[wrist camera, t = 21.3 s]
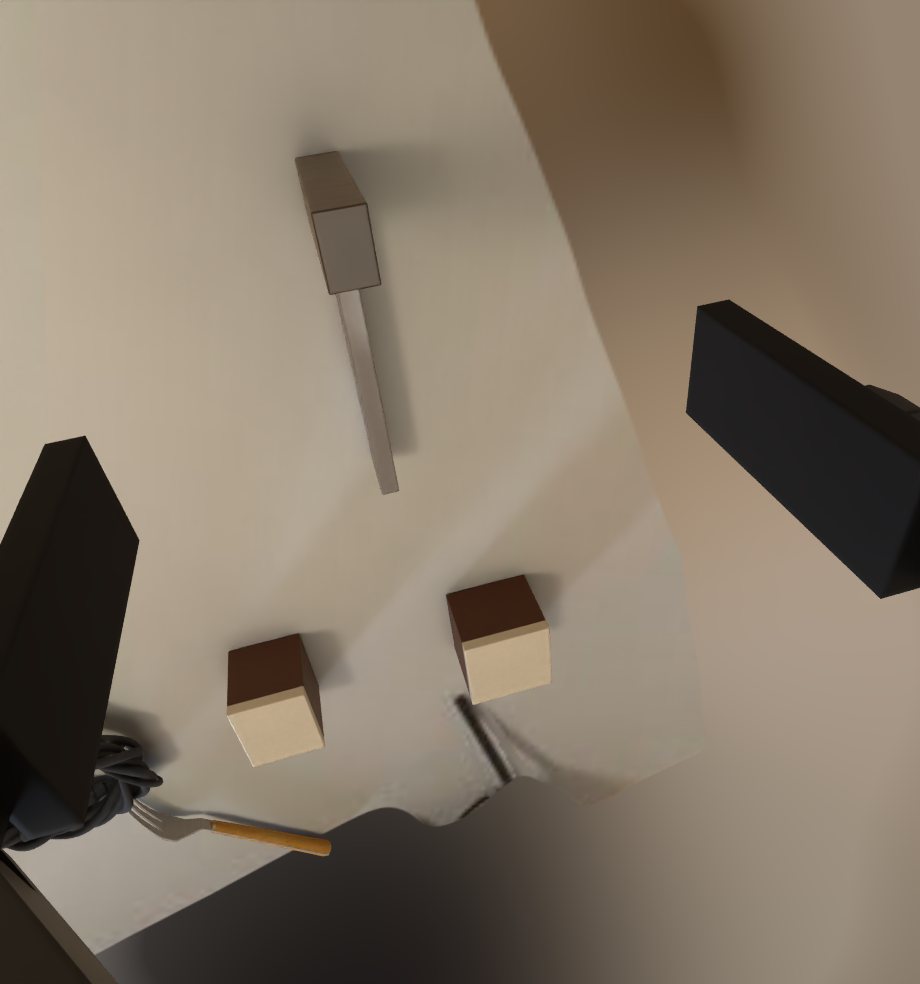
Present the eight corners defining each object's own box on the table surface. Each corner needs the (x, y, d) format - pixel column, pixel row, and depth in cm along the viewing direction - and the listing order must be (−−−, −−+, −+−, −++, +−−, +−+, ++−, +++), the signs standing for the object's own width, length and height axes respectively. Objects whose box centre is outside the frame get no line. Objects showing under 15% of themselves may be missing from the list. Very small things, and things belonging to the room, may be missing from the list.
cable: (180, 708, 50) (175, 761, 47) (147, 820, 57) (141, 873, 53) (-109, 693, 43) (-140, 753, 40) (-109, 822, 50) (-135, 883, 46)
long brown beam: (337, 151, 32) (367, 202, 24) (395, 452, 42) (430, 557, 34) (294, 158, 32) (310, 212, 24) (364, 460, 42) (391, 567, 34)
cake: (524, 574, 51) (549, 628, 47) (527, 628, 55) (551, 683, 51) (445, 594, 50) (464, 651, 46) (454, 648, 54) (473, 705, 50)
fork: (338, 850, 64) (128, 814, 52) (327, 866, 64) (115, 832, 53) (331, 829, 66) (127, 789, 55) (320, 843, 66) (115, 807, 55)
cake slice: (299, 633, 49) (304, 694, 45) (318, 685, 53) (325, 747, 48) (228, 651, 48) (226, 716, 44) (252, 703, 52) (253, 767, 48)
